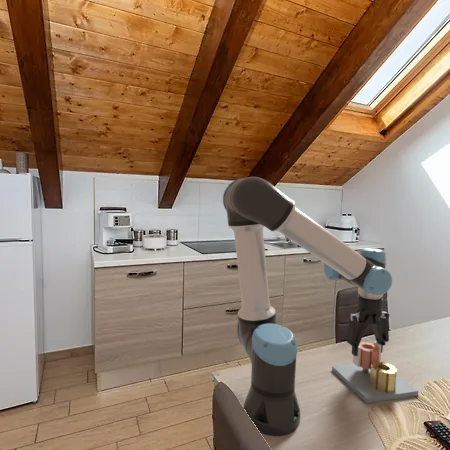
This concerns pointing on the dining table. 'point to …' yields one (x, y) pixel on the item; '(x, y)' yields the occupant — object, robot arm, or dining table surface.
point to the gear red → (368, 354)
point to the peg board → (361, 385)
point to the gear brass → (383, 377)
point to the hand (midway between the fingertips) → (366, 363)
